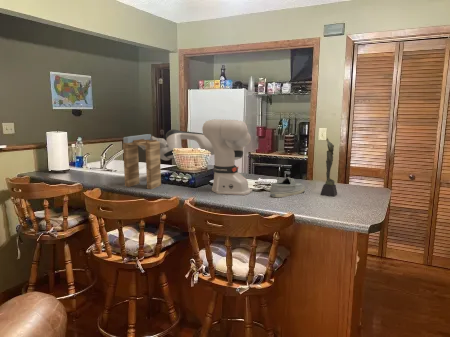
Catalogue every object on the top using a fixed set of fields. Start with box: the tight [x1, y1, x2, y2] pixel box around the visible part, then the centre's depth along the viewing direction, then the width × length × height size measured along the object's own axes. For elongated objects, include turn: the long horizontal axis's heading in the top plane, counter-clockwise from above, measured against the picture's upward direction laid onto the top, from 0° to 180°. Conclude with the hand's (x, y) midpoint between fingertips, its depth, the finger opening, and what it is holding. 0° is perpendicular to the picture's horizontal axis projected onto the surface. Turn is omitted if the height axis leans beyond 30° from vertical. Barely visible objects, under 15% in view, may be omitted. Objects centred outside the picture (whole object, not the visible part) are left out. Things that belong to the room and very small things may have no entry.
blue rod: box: [122, 133, 152, 143], centre depth 209 cm, size 3×23×3 cm, turn 159°
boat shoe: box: [269, 176, 306, 198], centre depth 192 cm, size 9×25×9 cm, turn 137°
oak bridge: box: [122, 139, 162, 190], centre depth 208 cm, size 18×10×27 cm, turn 69°
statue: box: [320, 137, 338, 198], centre depth 189 cm, size 7×8×30 cm
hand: (144, 136), depth 216 cm, fingers open, 8 cm apart
